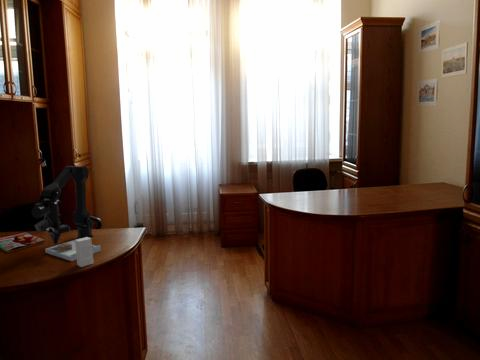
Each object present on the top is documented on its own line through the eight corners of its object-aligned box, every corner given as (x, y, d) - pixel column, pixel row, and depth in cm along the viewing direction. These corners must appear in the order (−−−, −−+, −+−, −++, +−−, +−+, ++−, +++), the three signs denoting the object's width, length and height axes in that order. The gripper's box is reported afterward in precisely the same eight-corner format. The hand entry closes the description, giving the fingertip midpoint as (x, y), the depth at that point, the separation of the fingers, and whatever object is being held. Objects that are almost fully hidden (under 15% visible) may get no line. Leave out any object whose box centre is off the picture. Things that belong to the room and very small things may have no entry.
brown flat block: (67, 247, 199) (66, 242, 198) (72, 249, 196) (71, 244, 196) (58, 250, 195) (58, 245, 195) (63, 251, 193) (63, 246, 192)
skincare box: (89, 261, 185) (87, 236, 183) (93, 263, 182) (91, 238, 180) (76, 265, 181) (74, 239, 179) (80, 267, 178) (78, 241, 176)
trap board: (74, 243, 211) (74, 238, 210) (100, 251, 199) (100, 245, 198) (45, 252, 198) (44, 246, 197) (71, 261, 186) (71, 255, 185)
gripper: (25, 214, 195) (29, 245, 197) (47, 219, 184) (50, 251, 187) (47, 209, 204) (50, 239, 206) (69, 214, 193) (72, 245, 196)
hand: (55, 243), depth 199 cm, fingers closed
